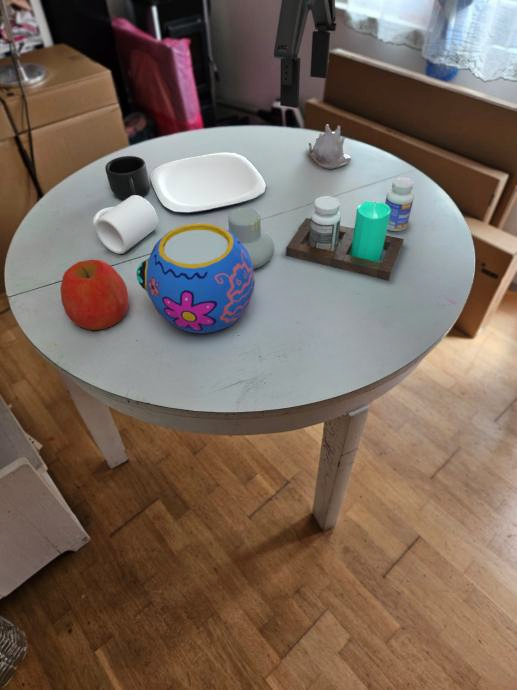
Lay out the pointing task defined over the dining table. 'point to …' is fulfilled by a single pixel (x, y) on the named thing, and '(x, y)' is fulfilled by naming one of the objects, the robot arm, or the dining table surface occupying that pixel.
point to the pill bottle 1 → (325, 223)
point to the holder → (345, 253)
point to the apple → (94, 295)
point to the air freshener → (251, 235)
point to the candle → (370, 230)
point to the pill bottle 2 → (399, 203)
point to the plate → (206, 182)
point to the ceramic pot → (198, 277)
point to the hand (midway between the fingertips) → (304, 90)
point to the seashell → (329, 149)
